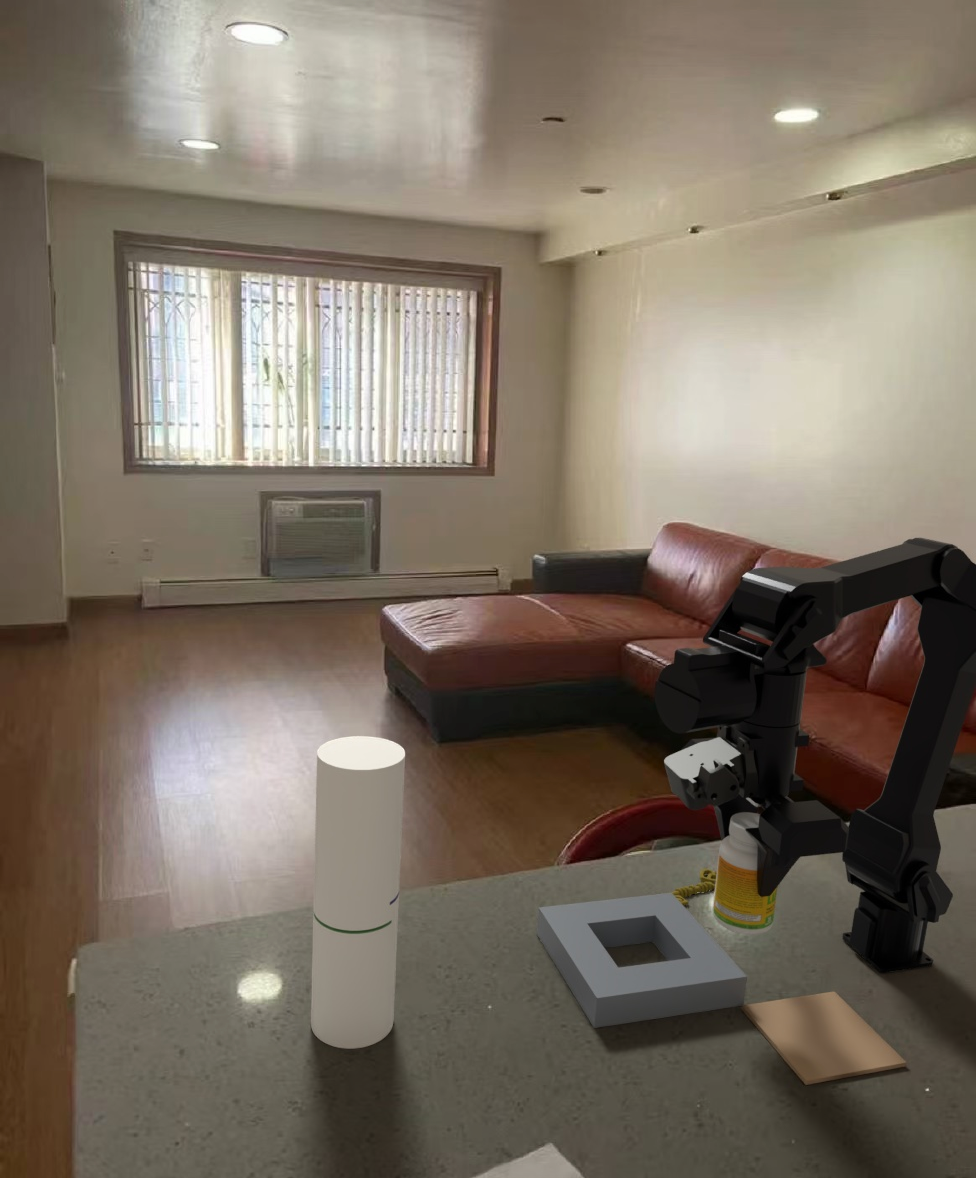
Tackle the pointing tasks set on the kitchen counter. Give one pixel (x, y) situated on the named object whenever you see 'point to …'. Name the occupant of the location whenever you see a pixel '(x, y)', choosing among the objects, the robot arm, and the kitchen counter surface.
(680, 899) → the key
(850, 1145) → the kitchen counter surface
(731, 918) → the supplement bottle
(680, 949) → the grey rectangular frame
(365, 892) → the cylindrical container
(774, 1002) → the pad
